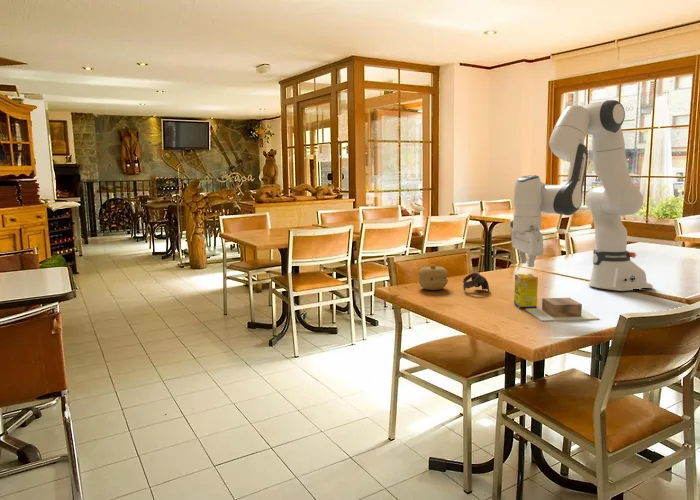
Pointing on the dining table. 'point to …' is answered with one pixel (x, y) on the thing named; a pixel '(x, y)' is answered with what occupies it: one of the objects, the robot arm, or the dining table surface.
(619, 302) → the dining table surface
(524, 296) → the supplement box
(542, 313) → the mat
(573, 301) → the walnut slab
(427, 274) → the pot
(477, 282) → the brown ceramic rounded piece
